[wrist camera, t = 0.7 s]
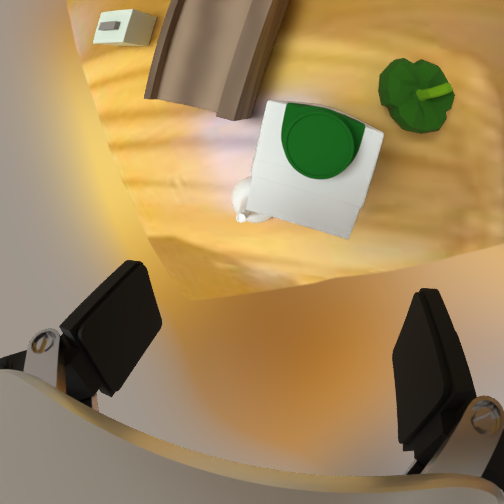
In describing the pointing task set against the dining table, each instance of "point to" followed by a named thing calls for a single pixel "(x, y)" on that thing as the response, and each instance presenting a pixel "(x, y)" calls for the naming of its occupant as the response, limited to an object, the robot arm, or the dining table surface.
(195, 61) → the shelf
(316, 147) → the milk carton
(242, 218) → the garlic bulb
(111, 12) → the cabinet
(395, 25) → the dining table surface
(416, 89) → the bell pepper
